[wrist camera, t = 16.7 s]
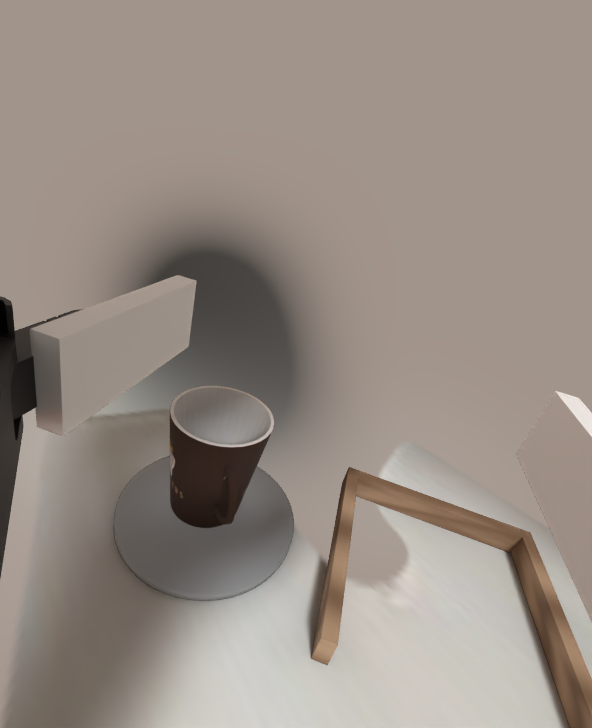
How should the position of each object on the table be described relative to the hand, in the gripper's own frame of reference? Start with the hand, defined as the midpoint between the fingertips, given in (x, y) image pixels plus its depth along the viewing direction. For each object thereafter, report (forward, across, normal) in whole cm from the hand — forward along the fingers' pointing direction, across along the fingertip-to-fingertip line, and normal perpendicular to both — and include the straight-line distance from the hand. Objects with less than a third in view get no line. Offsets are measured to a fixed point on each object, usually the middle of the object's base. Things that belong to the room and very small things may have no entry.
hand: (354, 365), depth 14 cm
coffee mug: (+11, -9, -24) cm, 28 cm away
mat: (+12, -8, -24) cm, 28 cm away
